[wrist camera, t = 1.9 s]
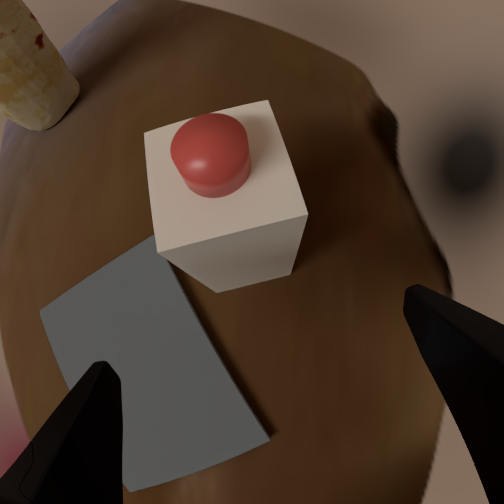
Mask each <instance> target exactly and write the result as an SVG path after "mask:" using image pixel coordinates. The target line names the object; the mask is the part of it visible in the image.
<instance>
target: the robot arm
mask: <svg viewBox="0 0 504 504" xmlns="http://www.w3.org/2000/svg"><path fill="white" fill-rule="evenodd" d="M403 312H404V316H405V318H406V321H407V323H408V325H409V327H410V330H411V332H412V334H413V337H414V339H415V341H416V344H417V346H418V348H419V351H420V353H421V355H422V357H423V359H424V361H425V363H426V365H427V367H428V369H429V370H430V372H431V374H432V376H433V378H434V380H435V382H436V384H437V386H438V387H439V389H440V391H441V393H442V395H443V397H444V399H445V401H446V403H447V405H448V407H449V409H450V411H451V413H452V415H453V417H454V419H455V422H456V424H457V426H458V428H459V430H460V432H461V434H462V437H463V439H464V441H465V443H466V446H467V448H468V450H469V453H470V455H471V457H472V460H473V462H474V463H475V464H474V465H475V467H476V470H477V472H478V474H479V477H480V480H481V482H482V485H483V487H484V490H485V492H486V495H487V498H488V501H489V504H504V325H503V324H501V323H499V322H497V321H495V320H493V319H491V318H489V317H487V316H485V315H483V314H481V313H479V312H477V311H475V310H473V309H471V308H469V307H467V306H464V305H462V304H460V303H458V302H456V301H454V300H452V299H450V298H448V297H446V296H444V295H441V294H439V293H437V292H435V291H433V290H431V289H429V288H427V287H424V286H422V285H420V284H416V285H413V286H410V287H408V288H407V289H406V291H405V298H404V305H403ZM122 451H123V412H122V388H121V380H120V377H119V376H118V374H117V373H116V372H115V370H114V369H113V368H112V367H111V365H110V364H109V363H108V362H107V361H104V360H103V361H96V362H94V363H93V364H92V365H91V366H90V367H89V369H88V370H87V371H86V372H85V373H84V375H83V376H82V377H81V378H80V379H79V381H78V382H77V383H76V384H75V386H74V387H73V388H72V389H71V390H70V392H69V393H68V394H67V395H66V397H65V398H64V399H63V400H62V402H61V403H60V404H59V405H58V407H57V408H56V409H55V410H54V412H53V413H52V414H51V416H50V417H49V418H48V419H47V421H46V422H45V423H44V425H43V426H42V427H41V428H40V430H39V431H38V432H37V434H36V435H35V436H34V438H33V439H32V441H30V443H29V444H28V446H27V447H26V448H25V450H24V451H23V452H22V453H21V455H20V456H19V457H18V459H17V460H16V461H15V462H14V463H13V465H12V466H11V467H10V468H9V469H8V470H7V472H6V473H5V474H4V475H3V476H2V477H1V478H0V504H123V484H122Z"/></svg>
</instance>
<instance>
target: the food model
mask: <svg viewBox="0 0 504 504" xmlns="http://www.w3.org/2000/svg"><path fill="white" fill-rule="evenodd" d="M79 90H80V86H79V83H78V81H77V80H76V79H75V78H74V77H73V75H72V74H71V72H70V71H69V69H68V67H67V65H66V63H65V62H64V60H63V58H62V56H61V55H60V53H59V52H58V50H57V49H56V48H55V46H54V45H53V44H52V42H51V41H50V40H49V38H48V37H47V36H46V34H45V33H44V31H43V29H42V28H41V26H40V24H39V23H38V21H37V19H36V18H35V17H34V15H33V14H32V12H31V11H30V10H29V9H28V7H27V6H26V5H25V3H24V2H23V1H22V0H0V113H2V114H3V115H4V116H6V117H7V118H9V119H10V120H12V121H14V122H15V123H17V124H19V125H21V126H23V127H25V128H28V129H29V130H36V131H43V130H46V129H48V128H50V127H52V126H54V125H55V124H56V123H57V122H58V121H59V120H60V119H61V118H62V117H63V115H64V114H65V113H66V111H67V110H68V109H69V107H70V106H71V105H72V103H73V102H74V101H75V100H76V98H77V97H78V94H79Z"/></svg>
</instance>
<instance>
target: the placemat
mask: <svg viewBox="0 0 504 504" xmlns="http://www.w3.org/2000/svg"><path fill="white" fill-rule="evenodd" d="M39 312H40V315H41V318H42V321H43V324H44V327H45V330H46V333H47V336H48V339H49V342H50V344H51V347H52V349H53V352H54V355H55V357H56V360H57V362H58V365H59V367H60V369H61V372H62V374H63V376H64V379H65V381H66V383H67V385H68V388H69V390H71V389H72V388H73V387H74V386H75V384H76V383H77V382H78V381H79V379H80V378H81V377H82V376H83V375H84V373H85V372H86V371H87V370H88V369H89V367H90V366H91V365H92V364H93V363H94V362H96V361H103V360H104V361H107V362H108V363H109V364H110V365H111V367H112V368H113V369H114V370H115V372H116V373H117V374H118V376H119V377H120V380H121V388H122V412H123V451H122V482H123V484H124V485H125V486H126V488H127V489H128V491H129V492H133V491H137V490H141V489H144V488H148V487H151V486H155V485H158V484H162V483H165V482H168V481H171V480H174V479H177V478H180V477H183V476H186V475H189V474H192V473H195V472H197V471H200V470H203V469H206V468H208V467H211V466H213V465H216V464H218V463H221V462H223V461H226V460H228V459H230V458H233V457H235V456H237V455H240V454H242V453H244V452H247V451H249V450H251V449H253V448H255V447H257V446H260V445H262V444H264V443H266V442H268V441H270V436H269V435H268V433H267V432H266V430H265V429H264V427H263V426H262V424H261V423H260V421H259V419H258V418H257V416H256V415H255V413H254V412H253V410H252V409H251V407H250V405H249V404H248V402H247V401H246V399H245V397H244V396H243V394H242V392H241V391H240V389H239V388H238V386H237V384H236V383H235V381H234V379H233V378H232V376H231V374H230V373H229V371H228V369H227V368H226V366H225V364H224V362H223V361H222V359H221V357H220V356H219V354H218V352H217V350H216V349H215V347H214V345H213V343H212V342H211V340H210V338H209V336H208V334H207V333H206V331H205V329H204V327H203V325H202V324H201V322H200V320H199V318H198V316H197V314H196V313H195V311H194V309H193V307H192V305H191V303H190V301H189V299H188V298H187V296H186V294H185V292H184V290H183V288H182V286H181V284H180V282H179V280H178V278H177V276H176V274H175V272H174V270H173V268H172V266H171V264H170V262H169V260H167V259H166V258H164V257H163V256H161V255H160V254H158V253H157V247H156V240H155V235H153V236H151V237H149V238H148V239H146V240H144V241H143V242H141V243H140V244H138V245H136V246H135V247H133V248H132V249H130V250H129V251H127V252H125V253H124V254H122V255H121V256H119V257H118V258H116V259H115V260H113V261H111V262H110V263H108V264H107V265H105V266H104V267H102V268H101V269H99V270H98V271H96V272H95V273H93V274H92V275H90V276H89V277H87V278H86V279H84V280H83V281H81V282H80V283H78V284H77V285H75V286H74V287H73V288H71V289H70V290H68V291H67V292H65V293H64V294H63V295H61V296H60V297H58V298H57V299H55V300H54V301H53V302H51V303H50V304H48V305H47V306H46V307H44V308H43V309H41V310H40V311H39Z"/></svg>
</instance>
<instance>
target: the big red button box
mask: <svg viewBox="0 0 504 504" xmlns="http://www.w3.org/2000/svg"><path fill="white" fill-rule="evenodd" d="M144 139H145V152H146V164H147V174H148V184H149V194H150V202H151V211H152V219H153V226H154V233H155V240H156V247H157V253H158V254H160V255H161V256H163V257H164V258H166V259H167V260H169V261H170V262H171V263H173V264H174V265H176V266H177V267H179V268H180V269H182V270H183V271H185V272H186V273H188V274H189V275H191V276H192V277H194V278H195V279H197V280H198V281H200V282H201V283H203V284H204V285H206V286H207V287H209V288H210V289H212V290H213V291H215V292H216V293H219V292H223V291H227V290H231V289H235V288H239V287H243V286H247V285H251V284H255V283H259V282H263V281H267V280H271V279H275V278H279V277H283V276H287V275H290V274H291V271H292V268H293V265H294V261H295V258H296V255H297V251H298V248H299V245H300V241H301V238H302V234H303V231H304V228H305V224H306V221H307V217H308V212H307V209H306V206H305V202H304V199H303V196H302V193H301V190H300V187H299V184H298V181H297V179H296V176H295V173H294V170H293V167H292V164H291V161H290V158H289V156H288V153H287V150H286V147H285V144H284V142H283V139H282V136H281V133H280V131H279V128H278V125H277V123H276V120H275V117H274V115H273V112H272V110H271V107H270V104H269V102H268V100H265V101H260V102H255V103H251V104H246V105H242V106H237V107H233V108H229V109H225V110H220V111H217V112H213V113H209V114H203V115H200V116H197V117H194V118H191V119H187V120H184V121H180V122H177V123H174V124H170V125H167V126H164V127H161V128H158V129H155V130H152V131H149V132H146V133H144Z"/></svg>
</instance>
